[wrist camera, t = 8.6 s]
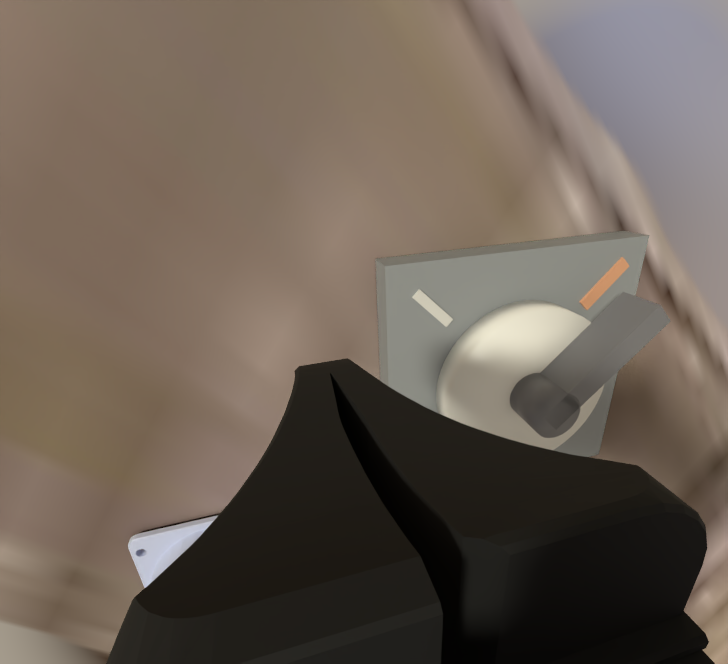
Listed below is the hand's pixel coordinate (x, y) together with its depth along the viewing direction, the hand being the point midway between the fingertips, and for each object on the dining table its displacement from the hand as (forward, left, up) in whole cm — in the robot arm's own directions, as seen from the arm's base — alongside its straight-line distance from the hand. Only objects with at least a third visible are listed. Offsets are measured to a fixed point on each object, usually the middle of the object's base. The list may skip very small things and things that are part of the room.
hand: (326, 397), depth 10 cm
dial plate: (-6, -11, -9) cm, 16 cm away
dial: (-6, -11, -8) cm, 15 cm away
